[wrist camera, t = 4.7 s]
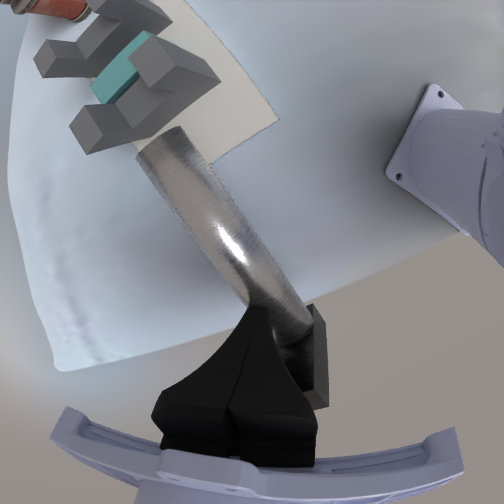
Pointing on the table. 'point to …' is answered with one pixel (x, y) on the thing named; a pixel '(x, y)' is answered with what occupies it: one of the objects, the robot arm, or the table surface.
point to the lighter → (52, 8)
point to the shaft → (239, 256)
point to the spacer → (119, 73)
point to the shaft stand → (160, 79)
